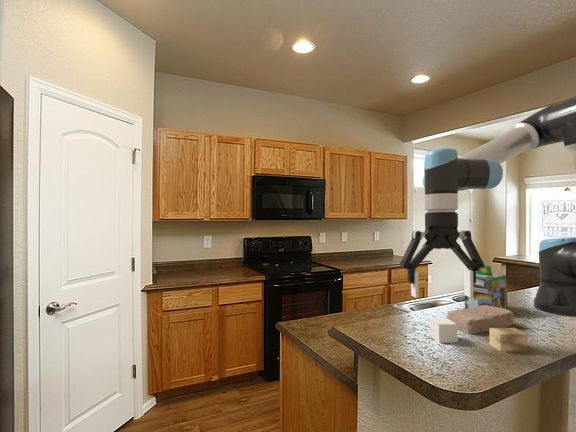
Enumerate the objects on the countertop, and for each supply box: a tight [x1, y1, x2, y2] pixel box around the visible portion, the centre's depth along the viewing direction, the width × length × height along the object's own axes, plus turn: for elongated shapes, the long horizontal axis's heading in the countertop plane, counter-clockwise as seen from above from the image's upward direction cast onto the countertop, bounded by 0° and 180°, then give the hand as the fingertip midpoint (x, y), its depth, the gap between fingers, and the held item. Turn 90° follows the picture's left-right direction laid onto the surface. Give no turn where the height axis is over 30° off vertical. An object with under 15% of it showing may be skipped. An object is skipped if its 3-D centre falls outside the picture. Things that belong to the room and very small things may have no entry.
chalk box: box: [464, 264, 509, 310], centre depth 105 cm, size 9×9×15 cm
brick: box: [446, 305, 514, 335], centre depth 90 cm, size 17×8×5 cm, turn 111°
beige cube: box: [429, 318, 459, 344], centre depth 81 cm, size 4×4×4 cm
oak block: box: [488, 327, 528, 352], centre depth 75 cm, size 6×4×4 cm, turn 90°
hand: (441, 296), depth 81 cm, fingers open, 13 cm apart
